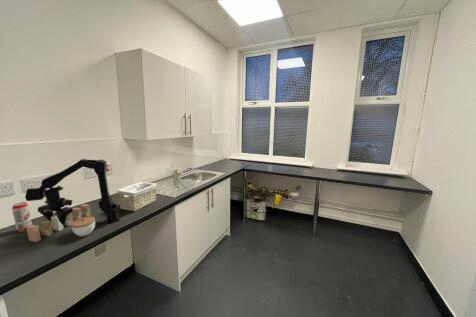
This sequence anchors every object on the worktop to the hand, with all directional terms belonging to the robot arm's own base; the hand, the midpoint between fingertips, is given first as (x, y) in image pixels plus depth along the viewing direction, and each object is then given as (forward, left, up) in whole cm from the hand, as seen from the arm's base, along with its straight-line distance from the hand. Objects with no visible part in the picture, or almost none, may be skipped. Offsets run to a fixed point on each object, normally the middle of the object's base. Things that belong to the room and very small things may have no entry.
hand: (57, 223), depth 114 cm
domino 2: (0, 0, -4) cm, 4 cm away
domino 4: (+5, -9, -4) cm, 12 cm away
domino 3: (+3, -5, -4) cm, 7 cm away
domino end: (-6, +10, -4) cm, 12 cm away
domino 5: (+8, -14, -4) cm, 17 cm away
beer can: (+12, +14, -4) cm, 19 cm away
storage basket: (+4, -46, -4) cm, 47 cm away
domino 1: (-3, +5, -4) cm, 7 cm away
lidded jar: (-16, -10, -4) cm, 19 cm away
